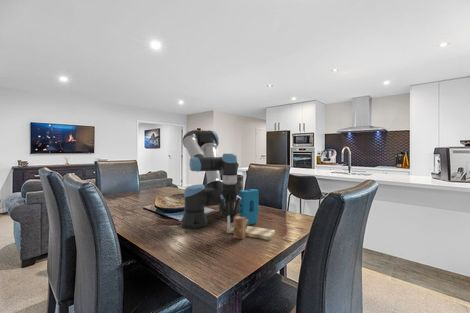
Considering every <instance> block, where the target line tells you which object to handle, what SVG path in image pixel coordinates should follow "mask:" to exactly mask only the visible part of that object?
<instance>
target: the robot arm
mask: <svg viewBox="0 0 470 313" xmlns="http://www.w3.org/2000/svg"><path fill="white" fill-rule="evenodd" d="M219 139H220V138H219V135H218V133H217V132H216V131H214V130H201V129H200V130H199V129H198V130H197V129H193V130H189V131H187V132H186V133H185V134H184V135H183V137H182V140H181V142H182V145H183V147H184V148H185V149H186V150H187V153H188V155H189V157H190V158H189V170H190V171H191V172H197V173H198V172H205V174H206V181H207V183H206V184H205V185H204V184H194V185H193V184H192V185H190V186H187V187H185V189H184V194H183V197H184V199H183V200H184V201H183V202H184V211H183V216H182V220H181V222H180V223H181V224H180V225H181V227H182V228H184V229H188V230H196V229H202V228H205V227H206V226H208V219H207V215H206V213H205V208H206V207H215V206H219V205H221V209H222V212H221V214H222V215H224V216H225V222H226V226H227V228H226V230H227V229H228V230H230V229H232V225H233V224H234V218H235V217H236V216H238V214H239V213H238V208H239V204H240V201H241V199H242V198H241V197H239V196H238V194H237V184H236V183H237V175H238V157H237V156H238V155H237V154H236V153H223V154H222V156H217V152H216V150H217V148H218V147H219V144H220V141H219ZM221 171H222V174H220V173H221ZM220 175H222V181H221V178H220ZM235 199H236V200H237V201H236V203H235V202H234V200H235ZM229 215H230V216H229Z"/></svg>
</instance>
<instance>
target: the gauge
mask: <svg viewBox="0 0 470 313" xmlns="http://www.w3.org/2000/svg"><path fill="white" fill-rule="evenodd" d="M247 223H249V220H247V219H246V217H240V215H236V216H234V222H233V225H234V234H233V239H238V240H245V238H246V237H247V236H246V228H247V226H248V225H247Z"/></svg>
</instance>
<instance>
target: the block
mask: <svg viewBox="0 0 470 313" xmlns="http://www.w3.org/2000/svg"><path fill="white" fill-rule="evenodd" d="M259 194H260V192H259V189H256V188H255V189H254V188H251V189H243V190H242V191H239V197H241V198H242V199H241V201H240V204H239V213H238V214H239V216H240V217H246V219H247V220H249V223H247V226H250V225H255V224H257V221H258V216H259V211H260V210H259V205H260V204H259V199H260V198H259V196H260V195H259Z"/></svg>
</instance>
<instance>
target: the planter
mask: <svg viewBox="0 0 470 313" xmlns="http://www.w3.org/2000/svg"><path fill="white" fill-rule="evenodd" d="M220 178H221V181H222V174H220ZM236 184H237V194H238V196H239V191H242V190H244V175H243V174H237V183H236ZM236 201H237V200H236V199H235V200H234V204H236ZM218 208H219V209H218V210H219V212H221V213H222V209H221V205H218ZM238 212H239V208H238ZM229 216H230V215H229Z"/></svg>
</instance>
